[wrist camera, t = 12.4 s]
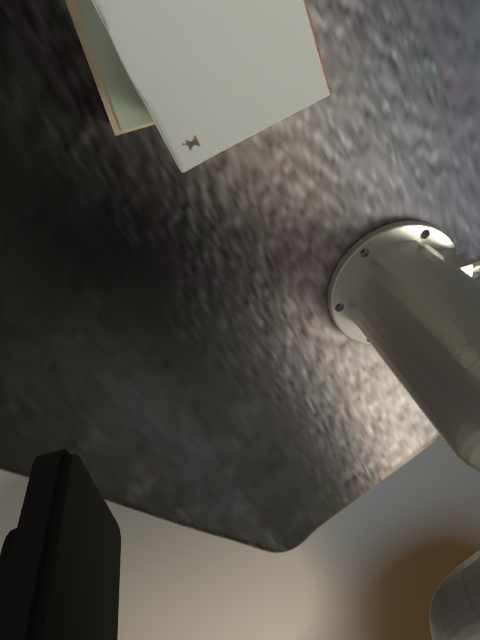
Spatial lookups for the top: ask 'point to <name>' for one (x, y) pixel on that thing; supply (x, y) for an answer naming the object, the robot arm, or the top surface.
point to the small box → (216, 67)
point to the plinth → (108, 71)
